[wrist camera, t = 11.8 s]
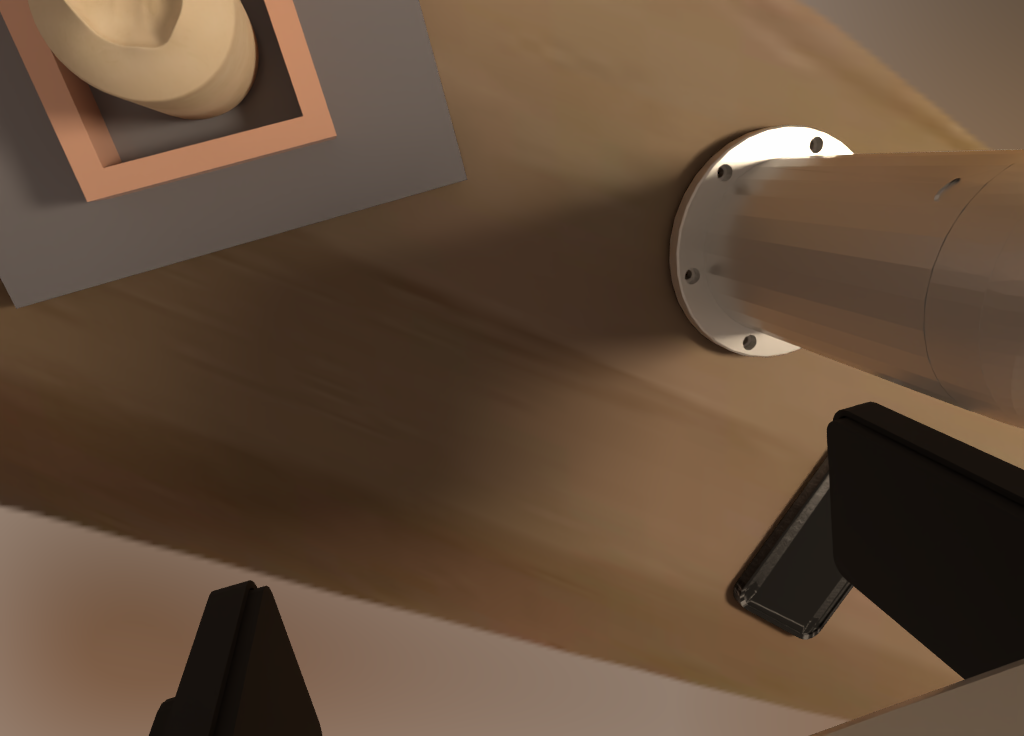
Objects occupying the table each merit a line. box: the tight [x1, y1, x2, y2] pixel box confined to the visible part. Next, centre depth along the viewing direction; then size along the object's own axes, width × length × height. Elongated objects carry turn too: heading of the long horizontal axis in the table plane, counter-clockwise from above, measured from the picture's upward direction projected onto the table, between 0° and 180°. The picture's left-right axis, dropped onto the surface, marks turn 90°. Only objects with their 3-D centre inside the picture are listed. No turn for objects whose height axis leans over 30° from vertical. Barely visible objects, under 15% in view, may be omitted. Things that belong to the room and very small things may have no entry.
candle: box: [28, 0, 259, 120], centre depth 23 cm, size 6×6×10 cm
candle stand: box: [0, 0, 467, 309], centre depth 27 cm, size 20×16×4 cm
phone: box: [734, 456, 853, 639], centre depth 46 cm, size 8×1×15 cm
